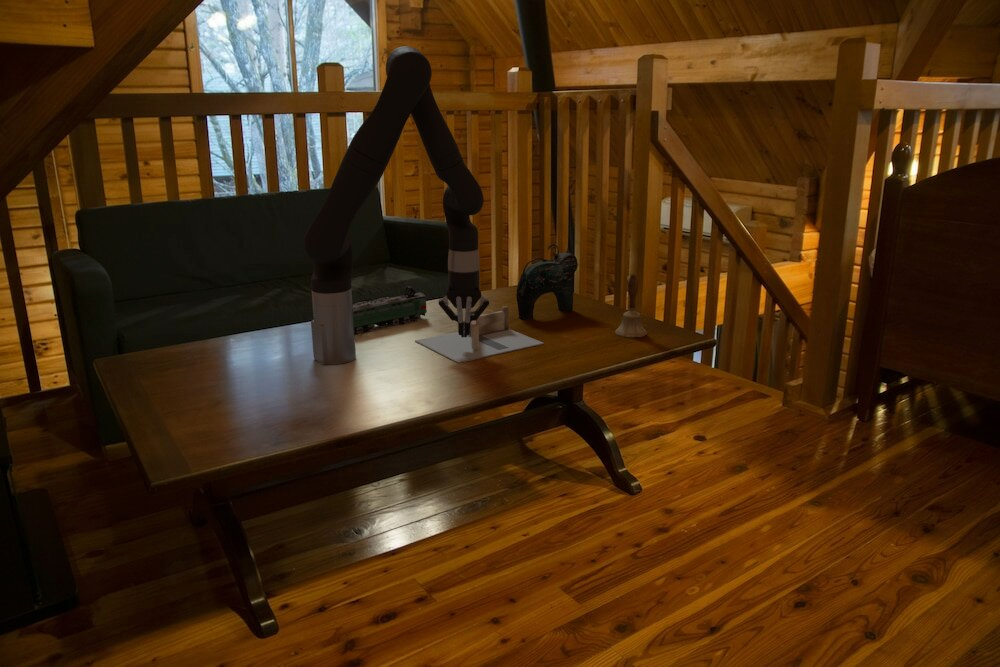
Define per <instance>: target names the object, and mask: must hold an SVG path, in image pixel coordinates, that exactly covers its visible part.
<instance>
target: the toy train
mask: <svg viewBox="0 0 1000 667" xmlns="http://www.w3.org/2000/svg"><path fill="white" fill-rule="evenodd" d="M404 287H405V289H404V291H403V292H402V294H403V295H402V294H401V295H398V296H393V297H391V296H390V295H386V296H380V297H375V298H374V300H373V299H372V298H370V299H365V300H360V301H356V303H352V305H353V320H354V333H356V334H358V335H360V334H363V332H364V331H369V332H373V331H374V330H375V328H376V326H377V327H384V326H387V325H392V326H394V327H397V326H398V325H399V324H400V323H403V324H408V323H410V322H411V321H413V320H414V321H415V322H419V321H421V316H424V317H425V316H426V314H427V313H428V312H427V296H426V295H425V294H424V293H422V292H417V291H416V290H414V287H413V286H410V285H409V284H408V285H405V286H404Z"/></svg>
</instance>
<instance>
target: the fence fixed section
mask: <svg viewBox="0 0 1000 667" xmlns="http://www.w3.org/2000/svg"><path fill="white" fill-rule="evenodd" d="M509 308H510V307H509V306H507V305H504V306H501V310H499V311H494V312H492V311H491V312H488V313H482V314H481V315H480V316H479V318H478V319H477V320H476V324H478V325H479V335H480V334H485V333H489V332H494V331H499V330H504V329H510V328H509V323H510V321H509V320H510V317H509V314H510V313H509V310H510V309H509ZM475 311H476V310H471V314H470V315H472V314H473V313H474V312H475ZM470 336H471V322H470Z"/></svg>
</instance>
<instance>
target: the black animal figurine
mask: <svg viewBox="0 0 1000 667" xmlns="http://www.w3.org/2000/svg"><path fill="white" fill-rule="evenodd" d="M551 247H556V249H557V252H552V254H553V255H554V257H553V258H552V259H544V258H541V257H540V258H539V257H536V258H533V259H531V260H530V261H529V260H528V262H526V264H525V265H524V267H523V271H522V273H521V275H520V276H519V277H520V278H519V280H518V283H517V286H516V298H515V299H516V303H517V310H518V318H519V319H522V320H524V321H525V320H531V319H533V318H534V309H535V305H536V303H537V300H538V299H539V298H541V297H542V296H543V295H545V294H549V293H553V294H554V296H555V298H556V303H557V307H558V308H557V310H559V311H560V312H562V313H564V312H565V313H566V312H570V311H573V308H574V278H573V277H574V275H575V272H576V271H577V270H578V259H577V256H576V255H574V254H572V253H571V251H570V249H569V248H568V247H567V249H566V250H565V252H559V251H560V250H559V247H558V245H556V244H554V243H552V244H550V245H548V246H547V251H549V250H550V249H551ZM537 260H540V261H538V262H535V263H533V262H534V261H537ZM530 263H532V264H530ZM529 264H530V265H529Z"/></svg>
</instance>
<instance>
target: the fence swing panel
mask: <svg viewBox="0 0 1000 667" xmlns="http://www.w3.org/2000/svg"><path fill="white" fill-rule="evenodd" d="M471 341H472V349H473V350H478V349H479V325H478V324H476V321H474V320H473V321H471Z"/></svg>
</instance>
